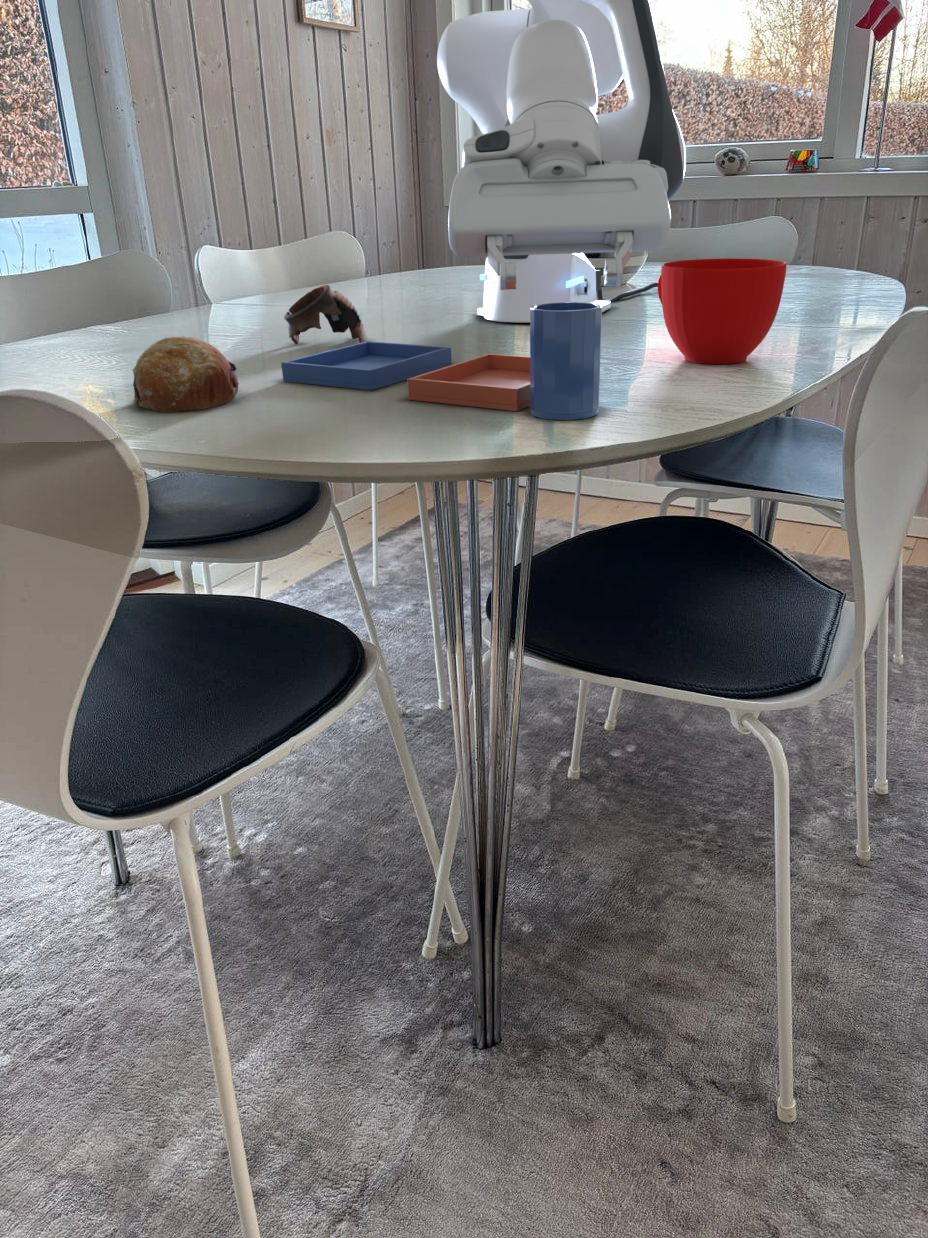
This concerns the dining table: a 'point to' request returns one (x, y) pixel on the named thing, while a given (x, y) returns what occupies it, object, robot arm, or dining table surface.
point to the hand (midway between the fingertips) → (560, 283)
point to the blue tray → (366, 365)
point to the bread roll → (183, 376)
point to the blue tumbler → (565, 360)
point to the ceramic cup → (720, 306)
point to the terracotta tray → (477, 383)
